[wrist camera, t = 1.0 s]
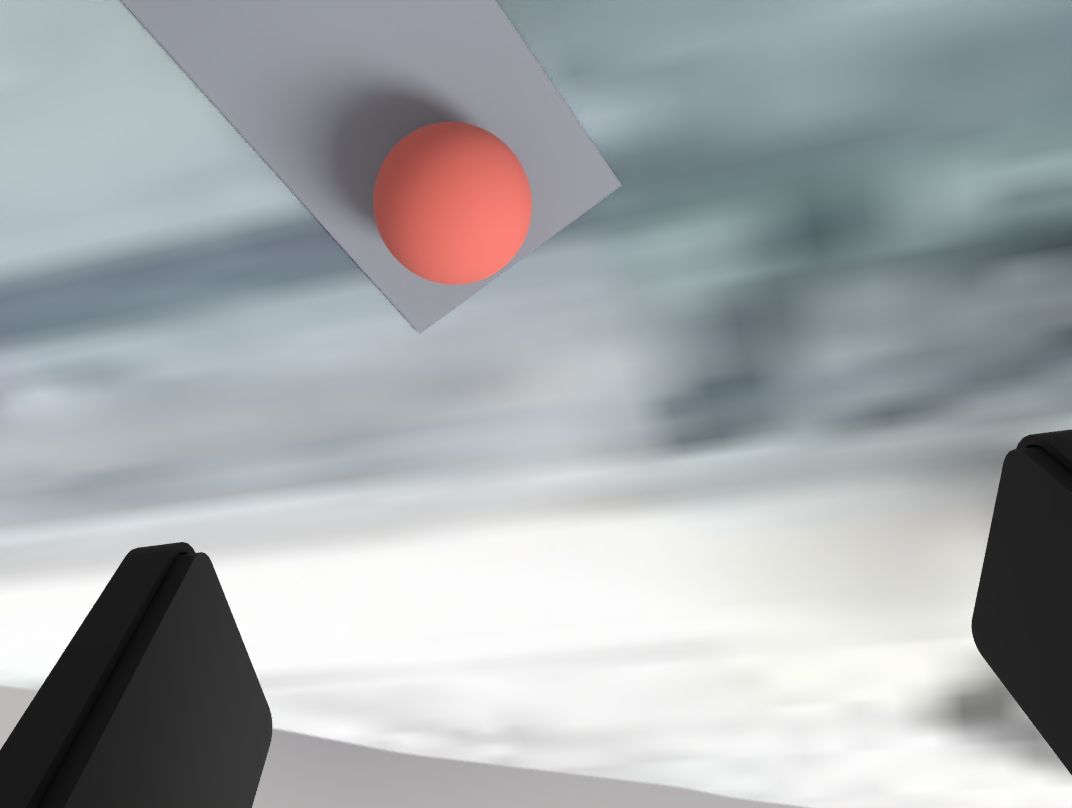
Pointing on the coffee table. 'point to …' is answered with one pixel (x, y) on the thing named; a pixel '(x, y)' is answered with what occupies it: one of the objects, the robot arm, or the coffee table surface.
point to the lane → (381, 109)
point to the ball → (452, 203)
